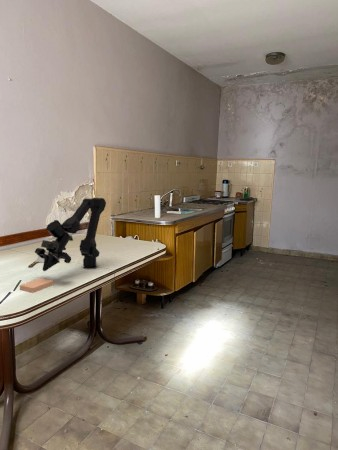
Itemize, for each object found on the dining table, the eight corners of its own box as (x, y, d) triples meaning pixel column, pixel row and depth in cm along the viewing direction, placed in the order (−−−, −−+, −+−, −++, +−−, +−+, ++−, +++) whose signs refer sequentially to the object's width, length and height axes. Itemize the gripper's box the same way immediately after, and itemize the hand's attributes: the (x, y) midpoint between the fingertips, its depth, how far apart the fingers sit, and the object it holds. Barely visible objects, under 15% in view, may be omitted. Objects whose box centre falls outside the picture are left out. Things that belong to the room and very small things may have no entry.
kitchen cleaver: (42, 267, 178) (23, 265, 177) (42, 268, 178) (23, 267, 177) (55, 256, 202) (39, 255, 201) (55, 257, 202) (39, 256, 201)
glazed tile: (40, 277, 155) (19, 285, 145) (53, 280, 152) (32, 288, 141) (41, 282, 156) (19, 290, 145) (53, 285, 152) (32, 293, 142)
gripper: (36, 231, 157) (18, 258, 149) (66, 235, 149) (48, 264, 141) (49, 244, 166) (33, 270, 158) (78, 248, 158) (62, 277, 150)
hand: (43, 270), depth 151 cm, fingers closed
